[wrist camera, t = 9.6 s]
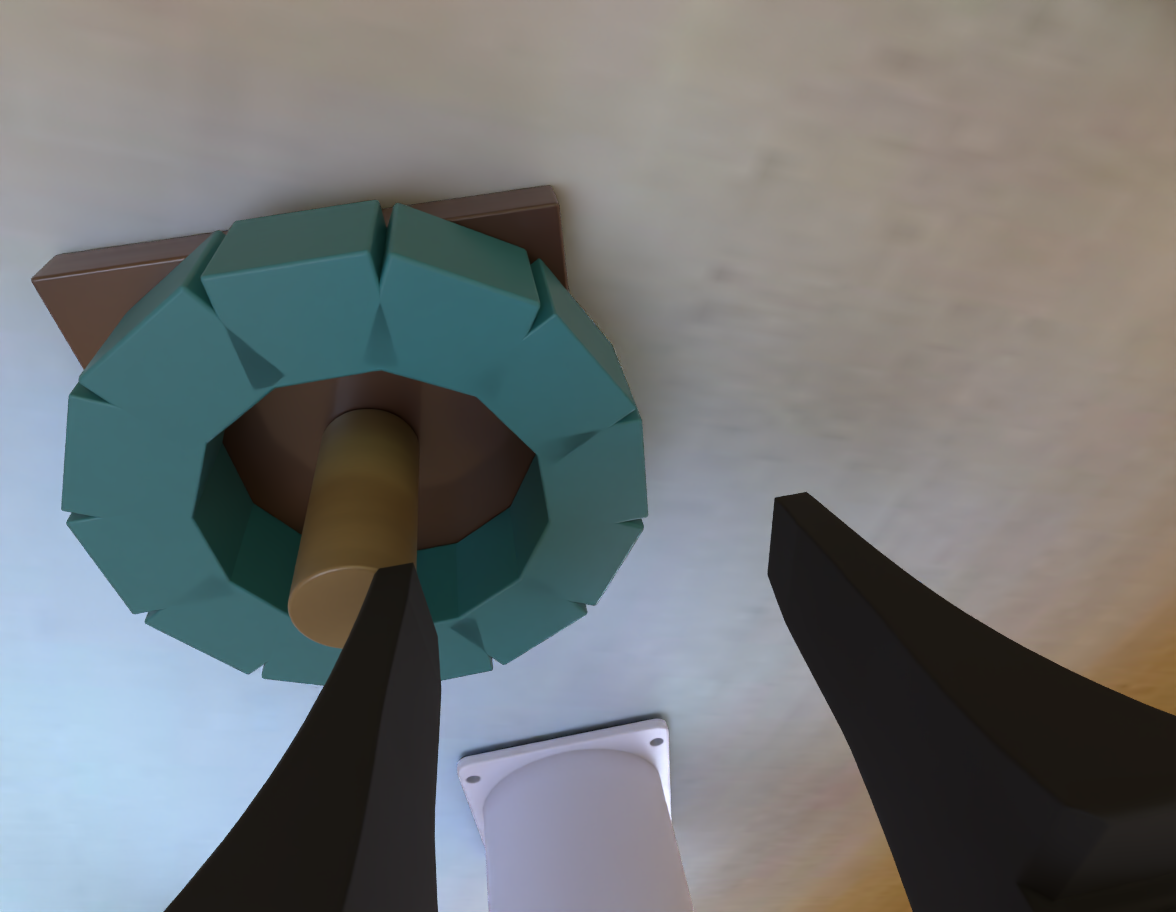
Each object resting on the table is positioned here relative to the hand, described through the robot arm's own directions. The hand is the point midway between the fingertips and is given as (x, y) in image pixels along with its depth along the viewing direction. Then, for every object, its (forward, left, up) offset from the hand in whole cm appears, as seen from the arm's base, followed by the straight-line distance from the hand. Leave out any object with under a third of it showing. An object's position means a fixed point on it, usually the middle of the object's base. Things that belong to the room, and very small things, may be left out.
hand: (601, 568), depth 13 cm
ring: (0, +4, -5) cm, 7 cm away
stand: (0, +5, -6) cm, 8 cm away
